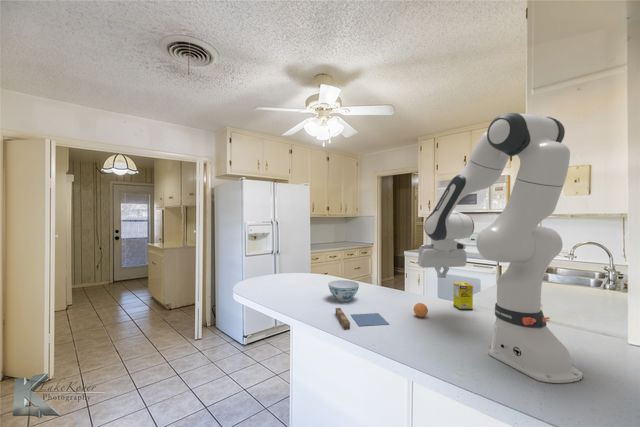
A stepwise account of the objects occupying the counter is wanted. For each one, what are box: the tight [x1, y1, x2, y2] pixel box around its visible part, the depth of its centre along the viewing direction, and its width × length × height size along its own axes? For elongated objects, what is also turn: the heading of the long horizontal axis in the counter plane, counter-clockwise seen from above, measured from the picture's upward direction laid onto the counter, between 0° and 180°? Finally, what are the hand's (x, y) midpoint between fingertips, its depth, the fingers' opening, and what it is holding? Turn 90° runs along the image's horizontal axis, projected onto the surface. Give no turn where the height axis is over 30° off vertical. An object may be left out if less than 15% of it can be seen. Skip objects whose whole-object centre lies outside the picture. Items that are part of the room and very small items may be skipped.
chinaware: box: [328, 279, 360, 303], centre depth 141 cm, size 15×15×8 cm
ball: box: [413, 302, 429, 318], centre depth 118 cm, size 6×6×6 cm
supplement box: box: [453, 281, 474, 311], centre depth 129 cm, size 6×6×11 cm
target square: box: [350, 312, 390, 327], centre depth 115 cm, size 12×12×1 cm
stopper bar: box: [335, 307, 351, 330], centre depth 113 cm, size 16×2×2 cm, turn 9°
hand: (441, 277), depth 120 cm, fingers closed
